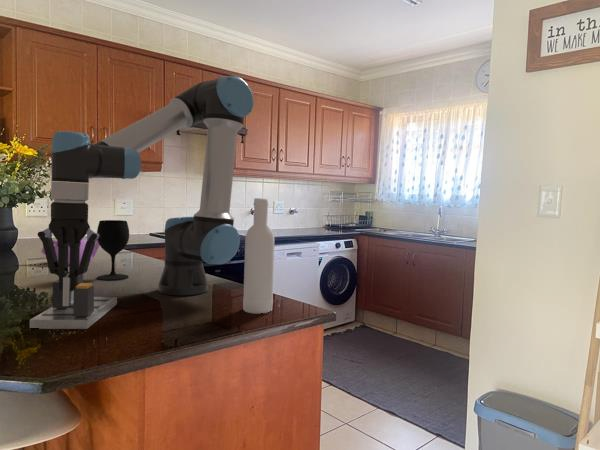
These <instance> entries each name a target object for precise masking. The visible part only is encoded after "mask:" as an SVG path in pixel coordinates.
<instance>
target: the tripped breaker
mask: <svg viewBox="0 0 600 450" xmlns="http://www.w3.org/2000/svg"><path fill="white" fill-rule="evenodd" d="M94 297H95V285H94V284H93V283H92V282H83V283H80V284H79V285H77V286H76V288H75V289H74V316H89V315H90V314H91V313H93V312H94Z"/></svg>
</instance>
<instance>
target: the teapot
mask: <svg viewBox="0 0 600 450" xmlns="http://www.w3.org/2000/svg"><path fill="white" fill-rule="evenodd" d="M52 240H53V243H54V247H55V251H56V255H57V259H58V246H57V240H55V239H52ZM86 242H87V239H85V238H83V239H82V240H81V245H80V254H79V265H80V262H81V258H82V255H83V251H84V248H85V245H86ZM99 247H100V245H99V243H98V240H97V241H96V242H95V245H94V249H93V252H92V256H91V259H90V263H91V261H92V260H93V259H94V257H95V256H96V253H97V252H98V249H99ZM41 253H42V254H43V255H45V251H44V247H42V249H41ZM69 265H70V247H69V246H68V267H69Z"/></svg>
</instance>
